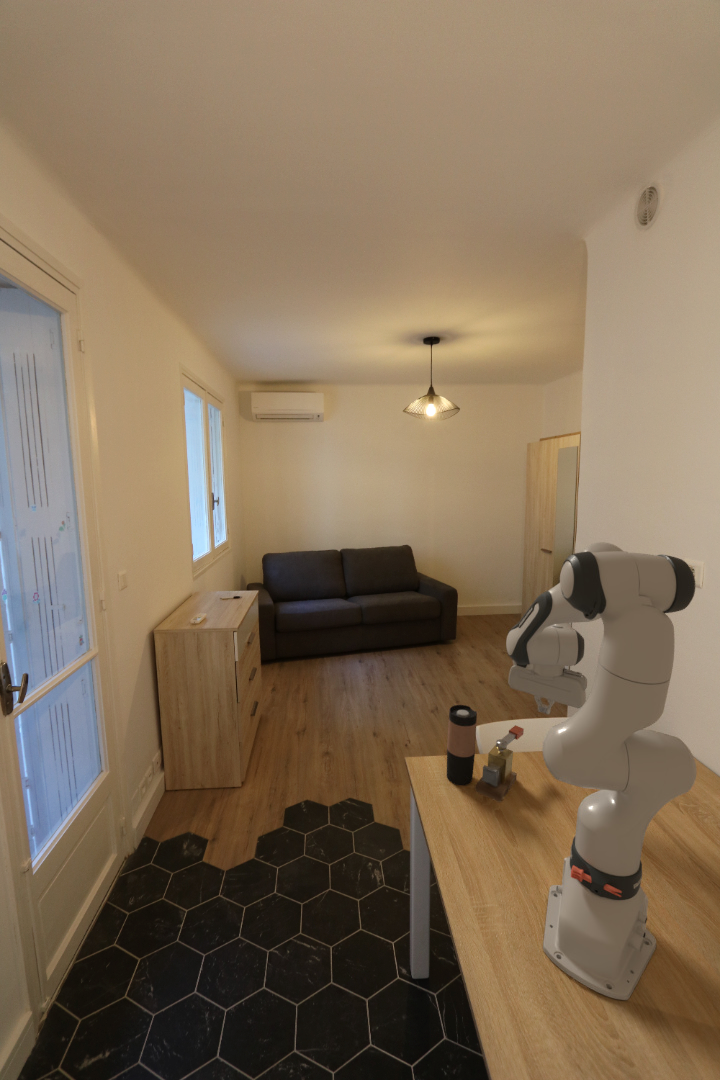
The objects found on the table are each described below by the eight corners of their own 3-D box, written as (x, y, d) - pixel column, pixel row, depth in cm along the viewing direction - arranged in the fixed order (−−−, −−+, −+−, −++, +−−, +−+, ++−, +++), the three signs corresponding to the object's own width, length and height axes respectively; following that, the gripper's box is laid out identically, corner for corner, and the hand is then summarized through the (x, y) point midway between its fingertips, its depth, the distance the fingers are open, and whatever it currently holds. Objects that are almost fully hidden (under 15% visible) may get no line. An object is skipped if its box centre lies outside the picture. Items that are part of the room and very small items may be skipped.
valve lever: (503, 751, 130) (503, 745, 130) (494, 747, 132) (494, 741, 132) (523, 734, 139) (524, 728, 139) (514, 730, 141) (514, 725, 141)
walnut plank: (500, 802, 125) (500, 795, 125) (475, 791, 130) (475, 784, 129) (516, 779, 135) (516, 773, 135) (492, 770, 139) (492, 763, 139)
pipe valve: (497, 792, 126) (499, 764, 125) (479, 785, 129) (481, 757, 128) (512, 772, 135) (514, 746, 134) (495, 765, 138) (497, 740, 137)
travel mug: (444, 783, 133) (447, 715, 130) (447, 767, 140) (450, 702, 137) (472, 788, 131) (476, 720, 128) (474, 772, 138) (478, 707, 135)
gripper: (591, 671, 127) (587, 720, 128) (516, 652, 140) (513, 697, 142) (584, 678, 122) (579, 729, 124) (507, 657, 135) (504, 704, 137)
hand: (543, 712), depth 133 cm, fingers closed
